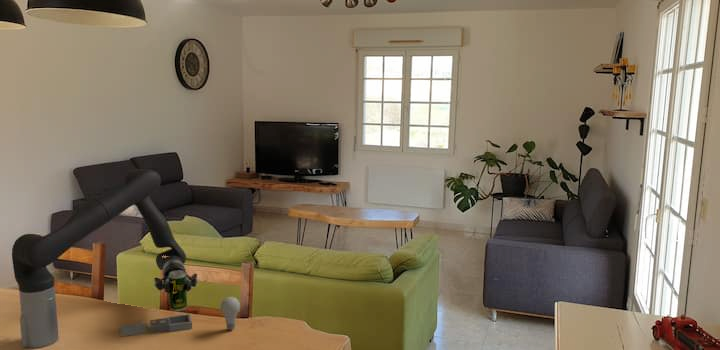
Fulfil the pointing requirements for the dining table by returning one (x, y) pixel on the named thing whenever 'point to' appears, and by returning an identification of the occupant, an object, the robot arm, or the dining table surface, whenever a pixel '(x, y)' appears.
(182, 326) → the grey button tray
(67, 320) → the dining table surface
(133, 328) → the slate mat
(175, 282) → the beer can
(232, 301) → the lightbulb
